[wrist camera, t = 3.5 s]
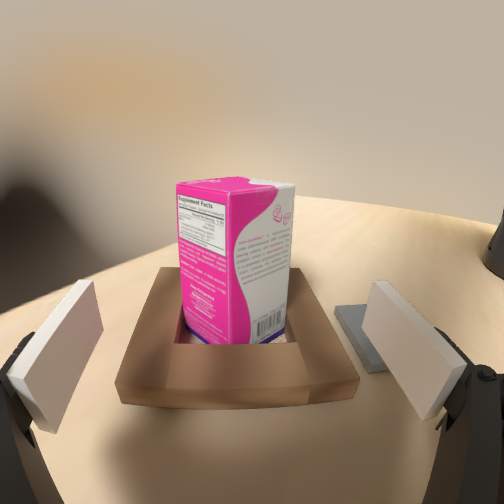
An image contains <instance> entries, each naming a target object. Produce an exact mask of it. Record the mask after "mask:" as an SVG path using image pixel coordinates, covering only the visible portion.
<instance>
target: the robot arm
mask: <svg viewBox="0 0 504 504" xmlns="http://www.w3.org/2000/svg"><path fill="white" fill-rule="evenodd" d="M483 262H484V264H485V265H486V266H487V267H488V268H489V269H490V270H491V271H492V272H494V273H495V274H497V275H498V276H500V277H502V278H503V279H504V210H503V215H502V219H501V222H500V224H499V226H498V228H497V230H496V232H495V234H494V235H493V237H492V239H491V241H490V243H489V245H488V246H487V248H486V251H485V254H484V258H483ZM361 328H362V329H363V331H364V332H365V334H366V335H367V337H368V338H369V340H370V341H371V343H372V344H373V346H374V347H375V349H376V350H377V352H378V353H379V355H380V356H381V358H382V359H383V361H384V362H385V364H386V365H387V367H388V368H389V370H390V371H391V373H392V374H393V376H394V377H395V379H396V381H397V382H398V384H399V385H400V387H401V388H402V390H403V392H404V393H405V395H406V396H407V398H408V399H409V401H410V403H411V404H412V406H413V407H414V409H415V411H416V412H417V414H418V416H419V417H420V419H421V420H422V421H425V420H428V419H430V418H433V417H436V416H437V415H438V413H439V412H440V410H441V409H442V407H443V406H444V407H445V409H446V410H447V412H446V413H445V415H444V416H443V418H442V419H441V421H440V422H439V424H438V425H437V427H436V429H435V430H438V429H439V427H440V426H441V425H442V428H441V434H440V439H439V443H438V448H437V452H436V457H435V461H434V465H433V469H432V472H431V476H430V480H429V483H428V486H427V490H426V493H425V496H424V499H423V502H422V504H504V374H497V373H496V372H495V371H494V370H493V369H492V368H491V367H489V366H486V365H481V364H479V365H474V364H473V363H472V362H471V361H470V359H469V358H468V357H467V356H466V355H465V354H464V353H463V352H462V351H461V350H460V349H459V348H458V347H456V344H455V343H454V342H453V341H451V339H450V338H449V337H448V336H447V335H446V334H445V333H444V332H442V331H441V330H439V329H438V328H436V327H433V326H432V325H431V324H430V323H429V322H428V321H427V320H426V319H425V318H424V317H423V316H422V315H421V314H420V313H419V312H418V311H417V310H416V309H415V308H414V307H413V306H412V305H411V304H410V303H409V302H408V301H407V300H406V299H405V298H404V297H403V296H402V295H401V294H400V293H399V292H398V291H397V290H396V289H395V288H394V287H393V286H392V285H391V284H390V283H389V282H388V281H387V280H375V281H373V283H372V288H371V292H370V296H369V300H368V304H367V308H366V312H365V316H364V320H363V324H362V327H361ZM103 330H104V329H103V325H102V321H101V317H100V313H99V308H98V303H97V299H96V294H95V289H94V284H93V280H78V281H77V282H76V284H75V285H74V286H73V287H72V288H71V289H70V291H69V292H68V293H67V294H66V295H65V297H64V298H63V299H62V300H61V301H60V303H59V304H58V305H57V306H56V308H55V309H54V310H53V311H52V312H51V314H50V315H49V316H48V318H47V319H46V320H45V321H44V323H43V324H42V325H41V326H40V328H39V329H38V330H37V332H31V333H30V334H29V335H27V336H26V337H24V338H23V339H22V341H21V342H20V343H19V345H18V346H17V348H16V349H15V350H14V351H13V354H12V355H11V356H10V357H9V358H8V360H7V361H6V362H5V364H4V365H3V367H2V368H1V370H0V504H64V502H63V500H62V498H61V496H60V494H59V492H58V490H57V488H56V486H55V484H54V482H53V480H52V478H51V475H50V473H49V471H48V469H47V466H46V464H45V462H44V459H43V457H42V454H41V452H40V449H39V447H38V444H37V441H36V439H35V436H34V433H33V431H32V429H31V428H30V424H31V422H32V420H33V421H34V422H35V423H36V425H37V426H38V428H39V429H40V430H43V431H47V432H50V433H53V434H56V433H57V431H58V428H59V426H60V423H61V421H62V418H63V416H64V413H65V411H66V409H67V406H68V404H69V402H70V399H71V397H72V395H73V393H74V390H75V388H76V386H77V384H78V381H79V379H80V377H81V375H82V373H83V371H84V368H85V366H86V364H87V362H88V360H89V358H90V356H91V354H92V352H93V350H94V348H95V346H96V344H97V342H98V340H99V338H100V336H101V334H102V332H103Z"/></svg>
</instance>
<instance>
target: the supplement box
mask: <svg viewBox="0 0 504 504" xmlns="http://www.w3.org/2000/svg"><path fill="white" fill-rule="evenodd" d="M294 192H295V185H294V184H291V183H284V182H275V181H267V180H260V179H253V178H246V177H227V178H215V179H207V180H197V181H189V182H181V183H177V184H176V200H177V226H178V246H179V261H180V275H181V288H182V299H183V310H184V320H185V327H186V328H187V329H188V330H189V331H191V332H192V333H193V334H194V335H196V336H197V337H198V338H199V339H201V340H202V341H203V342H205V343H206V344H266V343H267V342H269V341H271V340H272V339H274V338H276V337H277V336H279V335H280V334H282V333H284V332H285V317H286V305H287V294H288V282H289V269H290V256H291V243H292V226H293V211H294Z"/></svg>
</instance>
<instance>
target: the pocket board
mask: <svg viewBox="0 0 504 504" xmlns="http://www.w3.org/2000/svg"><path fill="white" fill-rule="evenodd" d="M183 323H184V310H183V299H182V288H181V275H180V268H179V267H161V268H160V270H159V272H158V274H157V277H156V279H155V281H154V284H153V286H152V288H151V290H150V293H149V295H148V298H147V300H146V302H145V305H144V307H143V309H142V312H141V314H140V317H139V319H138V322H137V324H136V327H135V329H134V332H133V334H132V337H131V339H130V342H129V345H128V347H127V350H126V353H125V355H124V358H123V361H122V363H121V366H120V369H119V372H118V374H117V377H116V380H115V386H116V389H117V392H118V394H119V397H120V400H121V403H124V404H133V405H142V406H153V407H167V408H185V409H253V408H272V407H285V406H296V405H306V404H315V403H323V402H330V401H337V400H344V399H350V398H353V396H354V393H355V390H356V388H357V385H358V383H359V380H360V377H359V375H358V373H357V371H356V370H355V368H354V366H353V364H352V362H351V360H350V358H349V356H348V355H347V353H346V351H345V349H344V347H343V345H342V344H341V342H340V340H339V338H338V336H337V334H336V333H335V331H334V329H333V327H332V325H331V323H330V322H329V320H328V318H327V316H326V314H325V313H324V311H323V309H322V307H321V305H320V304H319V302H318V300H317V298H316V296H315V295H314V293H313V291H312V289H311V288H310V286H309V284H308V282H307V281H306V279H305V277H304V275H303V274H302V272H301V270H300V268H290V269H289V282H288V294H287V305H286V317H285V332H284V333H285V336H286V339H287V342H288V343H267V344H180V340H181V334H182V328H183Z"/></svg>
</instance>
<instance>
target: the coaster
mask: <svg viewBox="0 0 504 504" xmlns="http://www.w3.org/2000/svg"><path fill="white" fill-rule="evenodd" d="M366 308H367V304H363V305H346V306H335V311H334V315H335V316H336V318H337V320H338V321H339V323H340V325H341V326H342V328H343V330H344V332H345V333H346V335H347V337H348V338H349V340H350V342H351V343H352V345H353V347H354V349H355V350H356V352H357V354H358V356H359V357H360V359H361V361H362V362H363V364H364V366H365V368H366V370H367V371H368V373H374V372H380V371H386V370H389V368H388V367H387V365H386V364H385V362H384V361H383V359H382V358H381V356H380V355H379V353H378V352H377V350H376V349H375V347H374V346H373V344H372V343H371V341H370V340H369V338H368V337H367V335H366V334H365V332H364V331H363V329H362V328H361V327H362V324H363V320H364V316H365V312H366Z"/></svg>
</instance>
